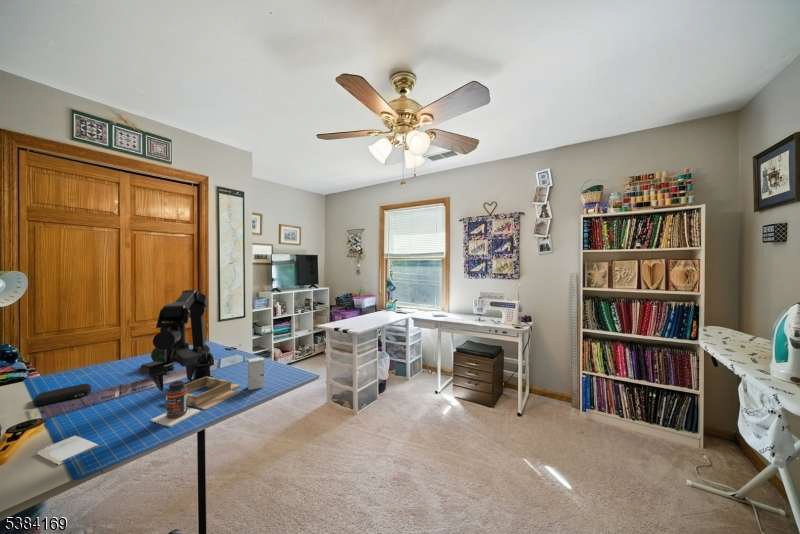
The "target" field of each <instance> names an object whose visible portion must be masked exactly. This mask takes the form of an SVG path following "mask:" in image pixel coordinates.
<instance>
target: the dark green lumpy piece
mask: <svg viewBox="0 0 800 534" xmlns="http://www.w3.org/2000/svg"><path fill="white" fill-rule="evenodd" d="M164 356H165V350H161V349H158V348H156V347H154V348H153V349H152V351H151V352H150V357H151V360H152V362H153V361H155V362H160V363H161V362H164V361H165V360H163V358H162V357H164ZM170 363H171V362H170ZM174 370H175V366H174V364H173V365H170V366H167V367H164V370H163V371H162V372H166V371H170V372H172V371H174Z"/></svg>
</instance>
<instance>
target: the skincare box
mask: <svg viewBox="0 0 800 534" xmlns="http://www.w3.org/2000/svg"><path fill="white" fill-rule="evenodd" d="M264 380H265V358H264V357H263V356H262V357H254V358H248V359H247V389H248V391H250V390H255V389H261V388H262V389H263V388H264V385H265V381H264Z"/></svg>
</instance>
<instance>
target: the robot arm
mask: <svg viewBox="0 0 800 534" xmlns="http://www.w3.org/2000/svg"><path fill="white" fill-rule="evenodd" d="M208 306H209V299H208V297H207V295H205V294H203V293H202V292H199V290H198V289H197V290H196V289H185V290H182V292H181V294H180V296H178V297H177V299H176V300H175V301H174V302H171V303H167V304H165V305H164V306H162V308H161V309H160V310H159V314H158V318H157V321H156V322H157V323H156V325H155V327H156V329H159V330H160V332H158V333H157V334H155V335H154V337H153V339H152V345H153V347H154V348H158V349H161V350H165V356H164V357H162V358H163V360H165V361H164V362H161V363H160V362H155V361H153V360H152V361H149V362H147V363H142V364H141V365H140V367H139V369H138V370H139V374H141V375H145V376H149V378H150V379H151V380H152V381H153V383H154V384H155V386H156V387H157V389H158V391H160V392H163V391H164V375H166V371H164V372H162V371H163V370H164V367H167V366H170V365H173V366H174V365H177V364H178V365H180V366H181V367H185V373H186V378H187V381H190V382H193V381H195V380H198V379H200V378H203V377H205V376H207V377H212V378H214V376H213V375H211V367H212V366H215V360H214V359H215V358H214V356H213V354H212V352H211V348H210V347H209V346H208V345H207V344H206V337H205V336H206V334H205V323H204V313H205V312H206V310H207V308H208ZM189 321H190V326H191V327H190V328H191V337H192V340H191V341H192V348H190V346H189V342H186V325H187V324H188V323H189ZM170 362H171V363H170Z"/></svg>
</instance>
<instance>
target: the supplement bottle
mask: <svg viewBox="0 0 800 534" xmlns="http://www.w3.org/2000/svg"><path fill="white" fill-rule="evenodd" d="M184 385H185V382H184V381H183V380H177V381H176V380H175V381H173V382H171V383H169V389H168V390H167V391H166V392H165V393H166V394H165V413H166V417H167V418H178V417H181V416H183V415H184V414H185V413H186V412H187V407H188V405H187V388H186V387H184Z"/></svg>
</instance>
